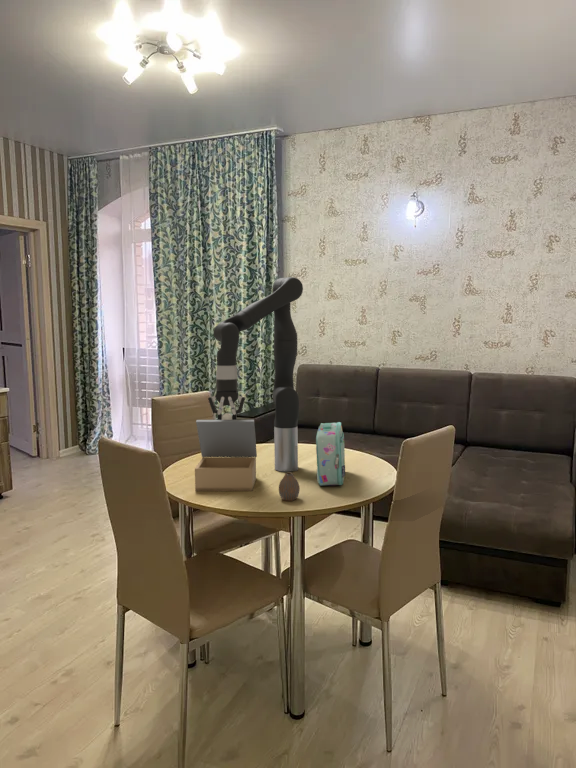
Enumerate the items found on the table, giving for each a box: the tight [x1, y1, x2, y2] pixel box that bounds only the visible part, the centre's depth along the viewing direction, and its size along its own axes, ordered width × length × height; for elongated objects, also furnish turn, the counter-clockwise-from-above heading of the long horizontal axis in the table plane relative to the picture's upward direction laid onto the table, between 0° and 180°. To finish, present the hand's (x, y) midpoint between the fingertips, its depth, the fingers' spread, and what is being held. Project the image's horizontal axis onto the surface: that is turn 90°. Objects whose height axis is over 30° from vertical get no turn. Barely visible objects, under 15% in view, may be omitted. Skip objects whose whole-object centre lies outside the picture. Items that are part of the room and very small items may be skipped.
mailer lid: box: [195, 412, 258, 458], centre depth 208 cm, size 21×18×7 cm
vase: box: [278, 472, 300, 502], centre depth 186 cm, size 7×7×9 cm
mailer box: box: [194, 457, 257, 492], centre depth 204 cm, size 20×16×8 cm
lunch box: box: [315, 421, 346, 486], centre depth 208 cm, size 27×10×21 cm, turn 175°
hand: (227, 424), depth 206 cm, fingers closed on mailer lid, 4 cm apart
